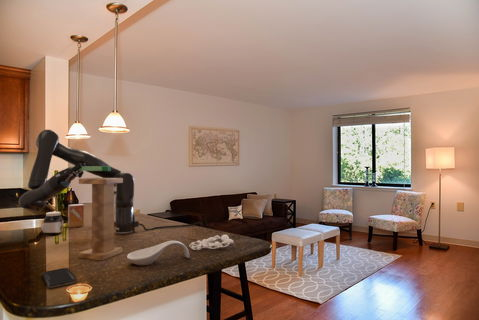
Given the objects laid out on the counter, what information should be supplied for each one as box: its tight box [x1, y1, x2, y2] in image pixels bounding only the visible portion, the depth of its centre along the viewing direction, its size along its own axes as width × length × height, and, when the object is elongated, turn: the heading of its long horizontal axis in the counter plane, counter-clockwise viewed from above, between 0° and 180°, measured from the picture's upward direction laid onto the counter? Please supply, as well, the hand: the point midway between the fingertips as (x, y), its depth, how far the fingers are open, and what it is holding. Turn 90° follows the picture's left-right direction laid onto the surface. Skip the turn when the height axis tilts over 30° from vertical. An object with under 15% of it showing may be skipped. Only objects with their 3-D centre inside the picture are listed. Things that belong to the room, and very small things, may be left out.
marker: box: [68, 165, 112, 172], centre depth 137 cm, size 21×2×2 cm, turn 71°
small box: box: [67, 203, 85, 228], centre depth 197 cm, size 8×6×13 cm
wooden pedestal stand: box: [78, 177, 124, 261], centre depth 135 cm, size 14×12×32 cm
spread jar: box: [40, 211, 64, 237], centre depth 176 cm, size 12×11×12 cm
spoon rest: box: [126, 240, 191, 266], centre depth 126 cm, size 24×12×7 cm, turn 116°
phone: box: [42, 267, 77, 289], centre depth 107 cm, size 8×1×15 cm
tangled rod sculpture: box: [188, 234, 234, 252], centre depth 146 cm, size 19×14×4 cm
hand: (82, 165), depth 138 cm, fingers closed on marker, 2 cm apart
